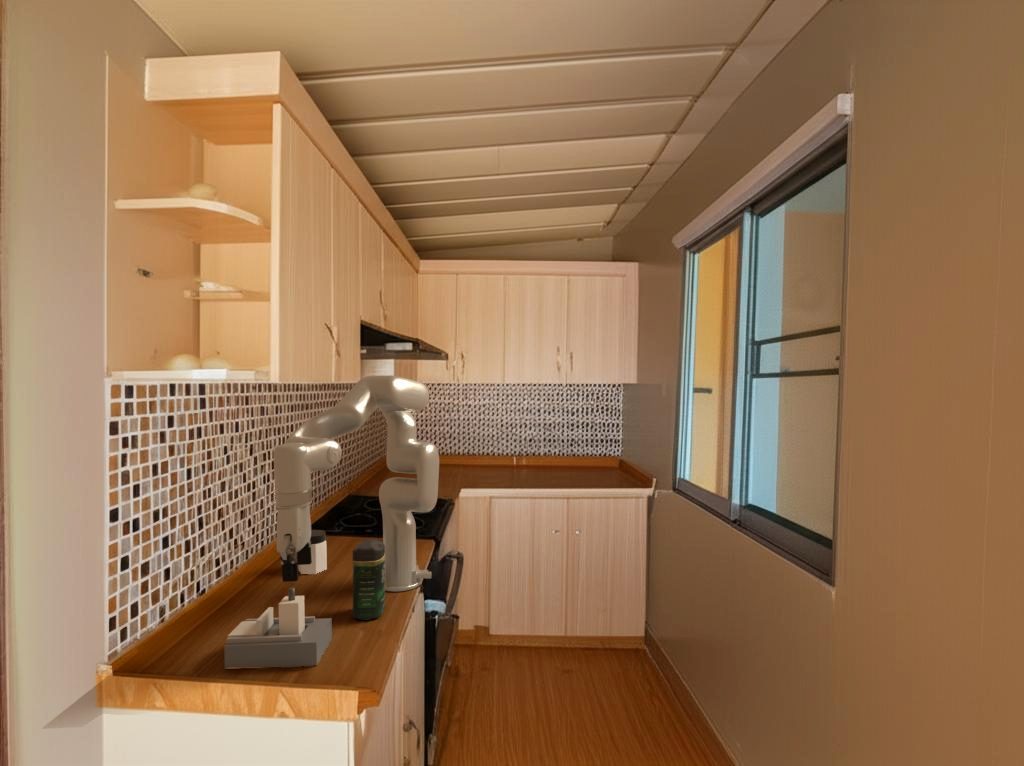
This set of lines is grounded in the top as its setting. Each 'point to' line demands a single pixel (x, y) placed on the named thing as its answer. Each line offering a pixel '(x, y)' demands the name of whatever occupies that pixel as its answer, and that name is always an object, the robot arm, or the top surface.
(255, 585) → the top surface
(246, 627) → the shutter
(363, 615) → the coffee jar
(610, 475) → the top surface
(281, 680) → the top surface
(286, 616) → the plug
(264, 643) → the socket block
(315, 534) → the jar
